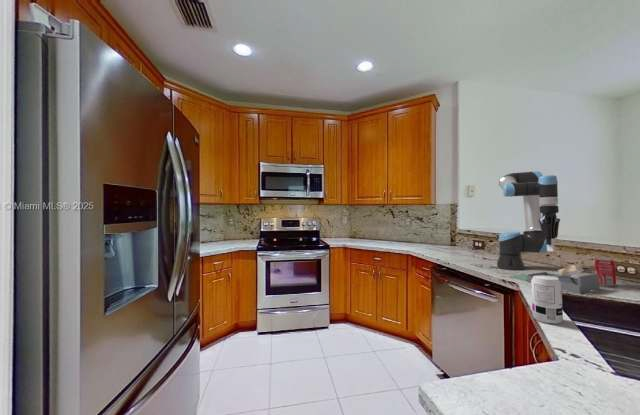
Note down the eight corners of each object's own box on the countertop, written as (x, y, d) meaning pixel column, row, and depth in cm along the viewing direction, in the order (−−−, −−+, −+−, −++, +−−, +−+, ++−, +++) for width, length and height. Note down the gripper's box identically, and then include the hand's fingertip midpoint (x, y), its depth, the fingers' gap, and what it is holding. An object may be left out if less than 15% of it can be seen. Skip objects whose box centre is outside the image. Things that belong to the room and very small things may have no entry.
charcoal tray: (527, 282, 147) (526, 267, 147) (545, 278, 152) (545, 265, 153) (579, 293, 126) (579, 276, 126) (599, 289, 131) (599, 273, 131)
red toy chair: (620, 287, 133) (619, 260, 134) (602, 286, 135) (601, 260, 135) (608, 283, 140) (607, 257, 140) (591, 283, 142) (590, 257, 142)
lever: (538, 283, 143) (535, 279, 144) (554, 281, 147) (551, 276, 149) (574, 273, 128) (571, 268, 130) (591, 270, 133) (587, 265, 134)
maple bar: (560, 275, 137) (557, 270, 139) (565, 274, 139) (562, 269, 140) (577, 270, 131) (574, 264, 132) (582, 269, 132) (579, 264, 133)
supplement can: (527, 316, 102) (525, 275, 102) (550, 315, 101) (548, 274, 102) (544, 325, 93) (542, 280, 94) (569, 324, 93) (567, 280, 93)
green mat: (508, 277, 158) (508, 276, 158) (523, 275, 162) (523, 274, 162) (526, 281, 149) (526, 279, 149) (541, 278, 153) (541, 277, 153)
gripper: (548, 205, 138) (550, 252, 137) (565, 205, 142) (567, 251, 141) (532, 205, 145) (534, 251, 144) (549, 205, 149) (551, 249, 148)
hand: (550, 251), depth 143 cm, fingers closed
